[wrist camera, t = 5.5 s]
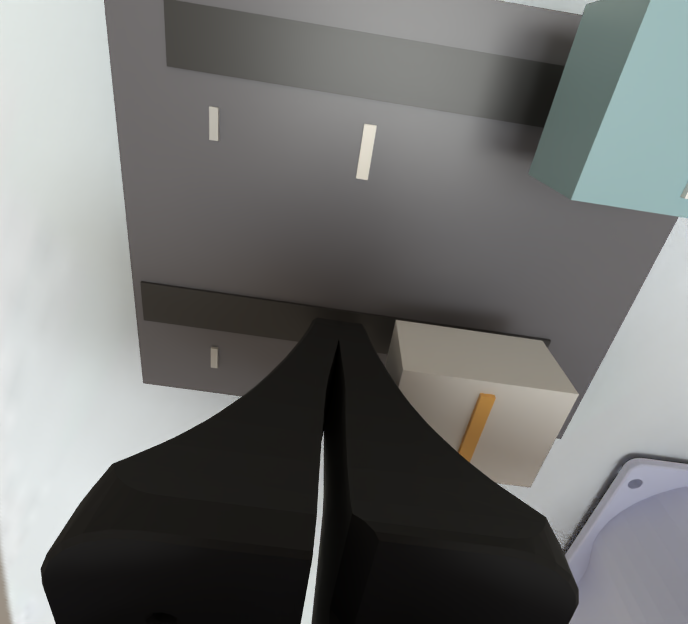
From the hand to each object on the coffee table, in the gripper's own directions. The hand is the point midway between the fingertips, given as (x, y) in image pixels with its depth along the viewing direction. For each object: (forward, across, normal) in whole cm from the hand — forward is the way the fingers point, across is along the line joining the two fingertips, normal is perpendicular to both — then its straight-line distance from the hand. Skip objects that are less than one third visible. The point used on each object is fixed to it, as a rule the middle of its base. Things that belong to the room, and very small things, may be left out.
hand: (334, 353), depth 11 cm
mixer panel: (+3, -1, -2) cm, 4 cm away
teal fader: (+1, -5, -7) cm, 8 cm away
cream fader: (+1, -3, 0) cm, 3 cm away
